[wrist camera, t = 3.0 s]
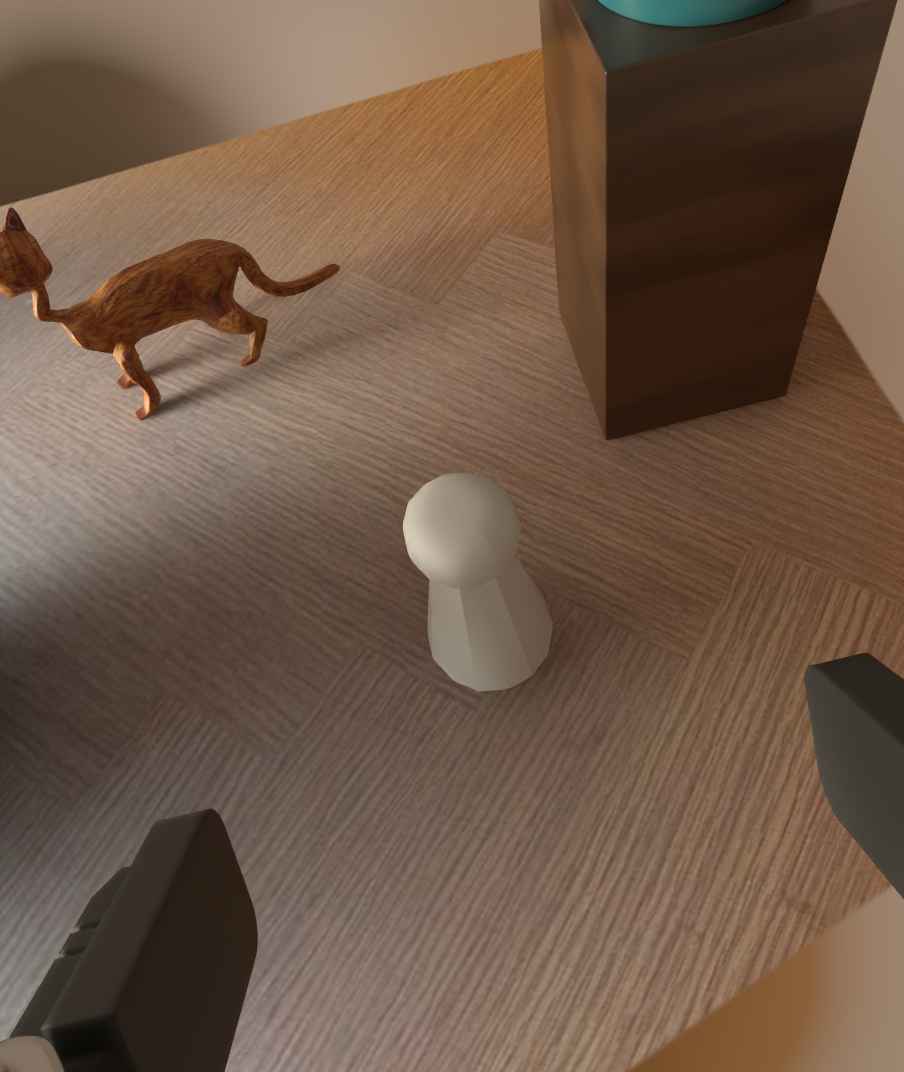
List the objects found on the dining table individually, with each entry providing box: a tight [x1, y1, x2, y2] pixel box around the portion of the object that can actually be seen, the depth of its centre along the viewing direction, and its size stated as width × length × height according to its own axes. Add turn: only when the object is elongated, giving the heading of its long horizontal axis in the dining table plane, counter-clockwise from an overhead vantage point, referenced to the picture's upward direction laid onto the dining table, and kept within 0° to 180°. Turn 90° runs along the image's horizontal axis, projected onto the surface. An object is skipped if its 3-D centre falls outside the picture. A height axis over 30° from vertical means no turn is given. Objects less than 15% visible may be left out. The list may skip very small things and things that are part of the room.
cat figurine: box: [0, 207, 340, 420], centre depth 49 cm, size 18×7×14 cm, turn 122°
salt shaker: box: [403, 471, 553, 691], centre depth 36 cm, size 6×6×13 cm
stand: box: [539, 0, 897, 440], centre depth 40 cm, size 10×10×21 cm
